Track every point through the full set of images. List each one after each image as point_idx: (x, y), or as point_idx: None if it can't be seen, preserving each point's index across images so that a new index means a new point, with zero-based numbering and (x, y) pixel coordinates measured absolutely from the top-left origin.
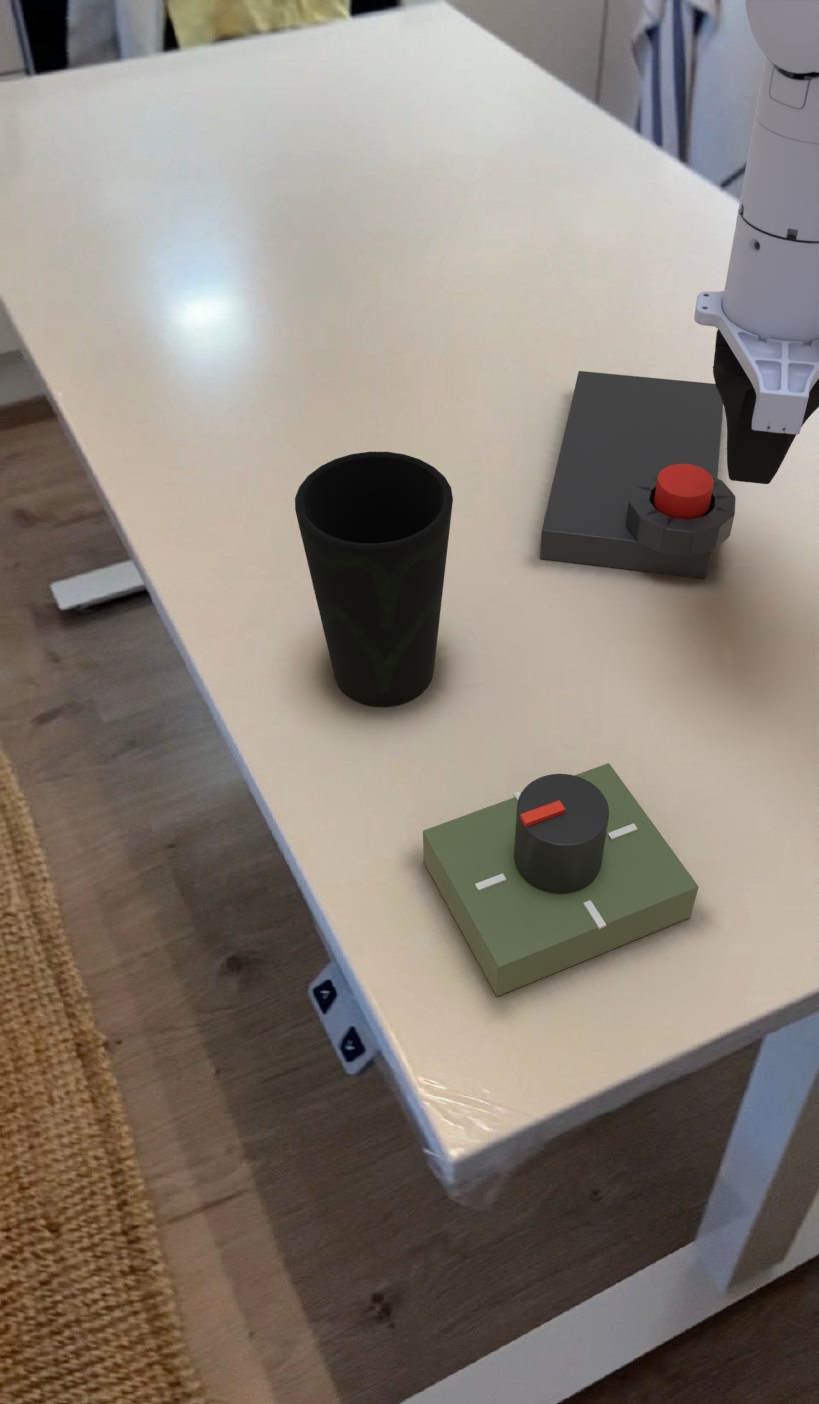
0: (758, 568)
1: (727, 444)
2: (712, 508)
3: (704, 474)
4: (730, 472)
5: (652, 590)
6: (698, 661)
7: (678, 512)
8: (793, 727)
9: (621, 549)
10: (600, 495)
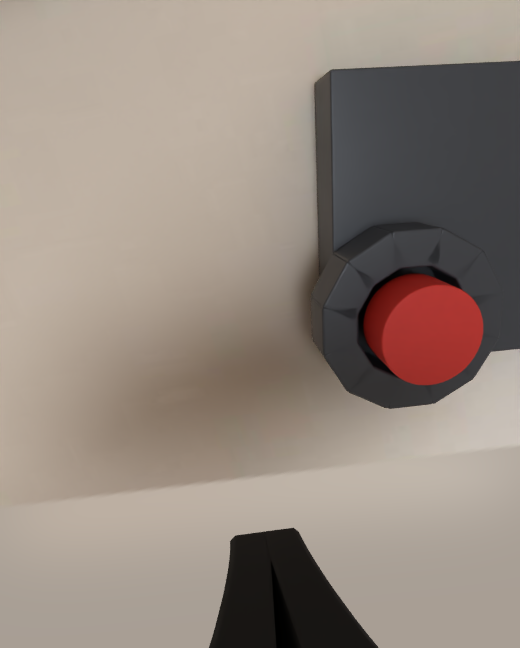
0: (358, 408)
1: (219, 621)
2: None
3: (453, 366)
4: (231, 553)
5: (279, 279)
6: (149, 363)
7: (368, 325)
8: (70, 484)
9: (327, 225)
10: (449, 165)
